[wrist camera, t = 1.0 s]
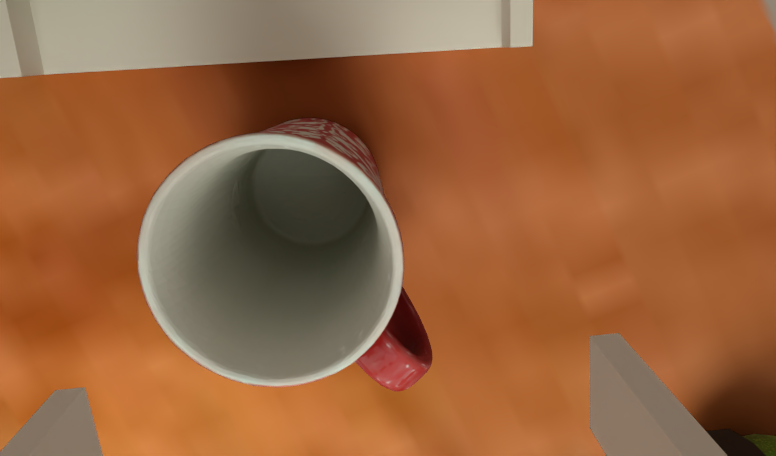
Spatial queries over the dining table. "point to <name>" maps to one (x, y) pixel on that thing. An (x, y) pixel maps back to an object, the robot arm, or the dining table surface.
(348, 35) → the shelf
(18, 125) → the dining table surface
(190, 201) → the mug
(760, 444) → the avocado
